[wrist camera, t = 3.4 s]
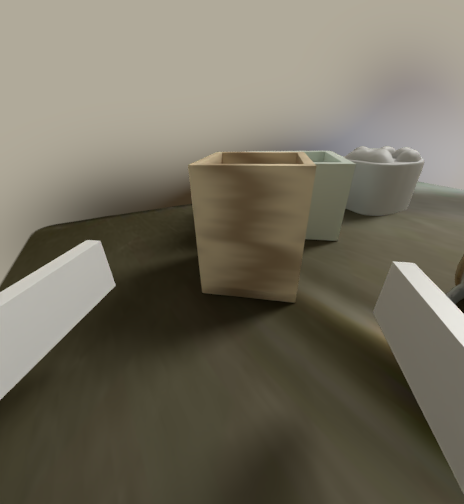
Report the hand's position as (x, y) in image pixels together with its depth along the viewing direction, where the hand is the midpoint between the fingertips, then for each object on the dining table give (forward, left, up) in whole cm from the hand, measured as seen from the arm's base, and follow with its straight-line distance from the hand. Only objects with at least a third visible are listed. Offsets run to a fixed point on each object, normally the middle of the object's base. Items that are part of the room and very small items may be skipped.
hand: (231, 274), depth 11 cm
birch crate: (0, -9, -6) cm, 11 cm away
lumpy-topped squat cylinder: (-18, -33, -6) cm, 38 cm away
